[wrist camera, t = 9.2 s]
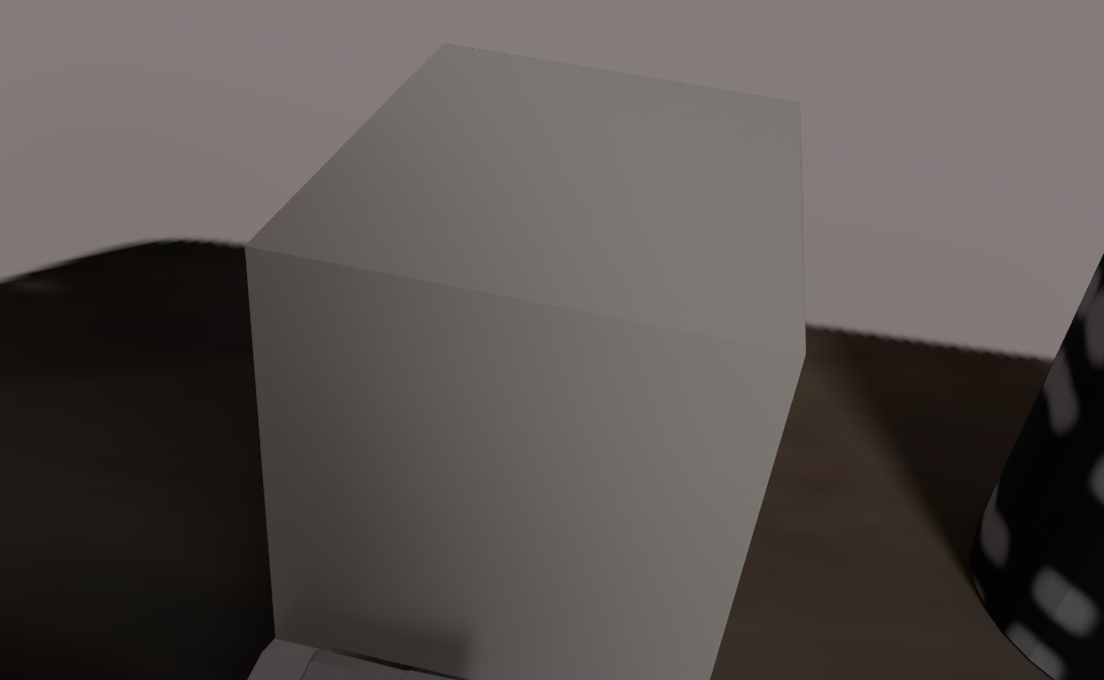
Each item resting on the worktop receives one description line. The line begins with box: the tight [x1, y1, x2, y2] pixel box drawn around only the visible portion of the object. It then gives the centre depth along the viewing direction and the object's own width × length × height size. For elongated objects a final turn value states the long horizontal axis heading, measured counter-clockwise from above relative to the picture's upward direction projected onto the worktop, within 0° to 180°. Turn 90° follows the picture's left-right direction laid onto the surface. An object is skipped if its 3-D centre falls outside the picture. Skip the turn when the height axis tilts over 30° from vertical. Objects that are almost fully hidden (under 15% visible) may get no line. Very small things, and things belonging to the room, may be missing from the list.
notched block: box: [245, 43, 806, 680], centre depth 18 cm, size 8×6×12 cm
